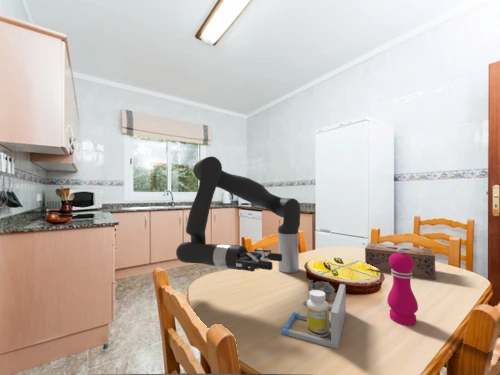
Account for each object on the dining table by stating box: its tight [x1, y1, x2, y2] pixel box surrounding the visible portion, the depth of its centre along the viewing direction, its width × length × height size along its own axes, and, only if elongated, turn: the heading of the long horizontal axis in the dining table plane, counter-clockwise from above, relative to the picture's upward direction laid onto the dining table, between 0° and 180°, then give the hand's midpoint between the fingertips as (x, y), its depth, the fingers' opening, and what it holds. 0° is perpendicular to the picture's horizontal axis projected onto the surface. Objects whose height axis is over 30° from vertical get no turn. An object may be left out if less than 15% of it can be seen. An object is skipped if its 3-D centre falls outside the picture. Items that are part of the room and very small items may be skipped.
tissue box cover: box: [364, 242, 436, 281], centre depth 109 cm, size 26×14×10 cm, turn 56°
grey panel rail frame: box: [281, 283, 347, 350], centre depth 65 cm, size 19×14×8 cm
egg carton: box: [307, 278, 336, 301], centre depth 84 cm, size 11×8×4 cm
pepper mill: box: [386, 247, 419, 326], centre depth 66 cm, size 7×7×20 cm
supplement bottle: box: [306, 289, 330, 338], centre depth 61 cm, size 5×5×10 cm
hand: (277, 261), depth 70 cm, fingers open, 8 cm apart
